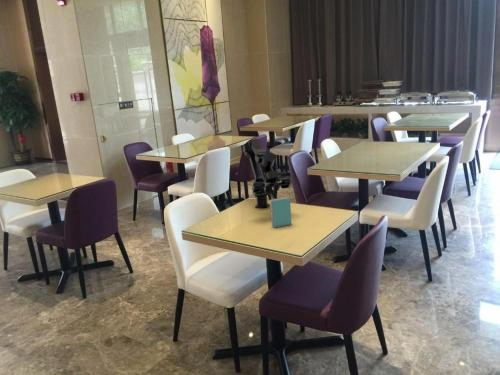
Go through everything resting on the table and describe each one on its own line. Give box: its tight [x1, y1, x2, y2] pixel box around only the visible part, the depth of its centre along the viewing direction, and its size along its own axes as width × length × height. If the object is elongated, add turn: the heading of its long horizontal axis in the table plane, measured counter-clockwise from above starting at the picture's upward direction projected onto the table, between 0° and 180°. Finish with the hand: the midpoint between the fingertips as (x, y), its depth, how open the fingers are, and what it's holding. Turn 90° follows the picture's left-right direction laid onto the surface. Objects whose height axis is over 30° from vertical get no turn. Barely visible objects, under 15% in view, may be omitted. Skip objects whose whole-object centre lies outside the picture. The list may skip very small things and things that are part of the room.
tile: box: [269, 196, 293, 229], centre depth 199 cm, size 2×9×13 cm, turn 105°
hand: (275, 200), depth 205 cm, fingers closed
